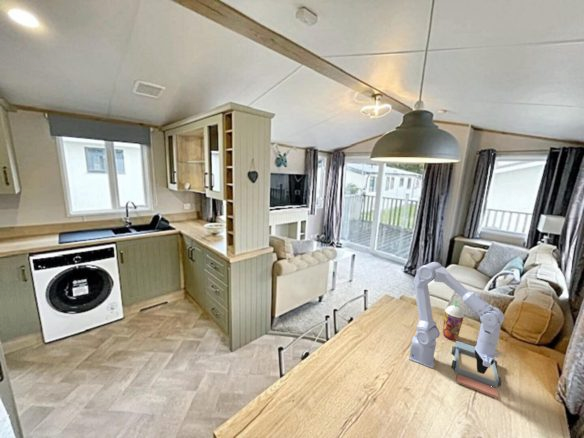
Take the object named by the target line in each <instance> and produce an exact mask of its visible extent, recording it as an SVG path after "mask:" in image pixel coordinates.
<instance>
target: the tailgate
mask: <svg viewBox="0 0 584 438" xmlns="http://www.w3.org/2000/svg"><path fill="white" fill-rule="evenodd" d="M456 382H457V384H460V385H462V386H465V387H468V388H470V389H472V390H475V391H478V392H481V393H483V394H485V395H488V396H490V397H493V398H494V399H499V394H498V390H497V389H496V388H494V387H491V386H489V385H486V384H484V383H481V382H478V381H476V380H473V379H470V378H468V377H465V376H463V375H460V374H457V373H456Z"/></svg>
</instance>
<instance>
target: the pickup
mask: <svg viewBox="0 0 584 438" xmlns="http://www.w3.org/2000/svg"><path fill="white" fill-rule="evenodd" d="M451 354H452V355H454V359H452V362H451V368H452V369H454V373H455V374H456V375H457V374H460V375H463V376H465V377H468V378H470V379H473V380H476V381H478V382H481V383H484V384H486V385H489V386H492V387H494V388H497V389H498V386H500V387H501V385H502V377H501V376H499V374H498V371H497V367H498V360H496V359H495V358H496V357H494V359H493V360H494V363H493V364H492V365H490V368H489V367H488V369H487V370H486V372H485V373H484V374H482V373H479V372H477V360H476V357H475V346H473V345H470V344H467V343H465V342H461V341H458V340H455V346H454V345H452V347H451Z"/></svg>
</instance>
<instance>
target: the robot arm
mask: <svg viewBox="0 0 584 438" xmlns="http://www.w3.org/2000/svg"><path fill="white" fill-rule="evenodd" d="M432 281H434V282H435V283H444V284H445V285H446V286H448V288H450V289H451V290H453V292H455V293H456V294H457V295H459V296H460V297H461V298H462V303H463V304H465V306H467V307H468V308H469V309H470V310H472V312H474V313H475V314H476V315H477V316H478V317H479V320H480V322H481V324H480V327H479V331H478V335H477V341H476V345H475V346H474V347H475V357H476V360H477V372H479V373H482V374H484V373H485V372H486V370H487V369H488V367H489V368H490V365H492V364H493V363H494V360H493V359H494V358H500V356H499V353H498V352H496V351H497V346H498V343H499V337H500V333H501V326H502V323H503V322H504V320H505V314H504V313H503V310H501V309H500V308H498V307H495V306H493V305H492V304H490V303H488V302H487V301H486V300H485V299H484V298H483V297H482V295H481V294H480V293H476V292H475V291H469V290H468V289H467V288H466V287H465V286H464V285H463V284H462V283H460V281H459V280H457V279H456V278H455V277H454V276H453V275H452V274H451V273H450V272H449V271H448V270H447V268H446V267H444V266H442V264H441V263H439V262H437V261H431V262H429V263H427V264H424V265H421V266H420V267H418V268H417V269H416V274H415V276H414V278H413V284H414V292H415V301H416V306H417V313H418V314H417V315H418V322H417V326H416V332H415V336H412V340H411V345H410V346H411V347H409V358H408V359H409V360H410V361H413V362H415V363H417V364H419V365H420V364H421V365H424V366H426V367H428V368H431V369H434V365H435V364H434V363H435V352H436V347H437V346H436V344H437V340H436V339H438V338H439V337H440V334H441V332H440V329H439V328H438V326H437V322H436V321H435V320H434V319H433V317H434V316H433V312H432V303H431V298H430V291H429V285H428V284H430V283H431V282H432Z"/></svg>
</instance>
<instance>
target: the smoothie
mask: <svg viewBox="0 0 584 438" xmlns="http://www.w3.org/2000/svg"><path fill="white" fill-rule="evenodd" d="M443 316H444V317H443V326H442V334H443V337H444V336H445V337H444V338H446V339H447V338H448V340H450V341H457V340H458V338H459V335H460V331H461V328H462V324H463V321H464V317H465V314H464V312H463V310H462V308H461V307H459V306H458V300H455V304H451V305H449V306H447V307H446V308H445V309H444V315H443Z"/></svg>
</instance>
